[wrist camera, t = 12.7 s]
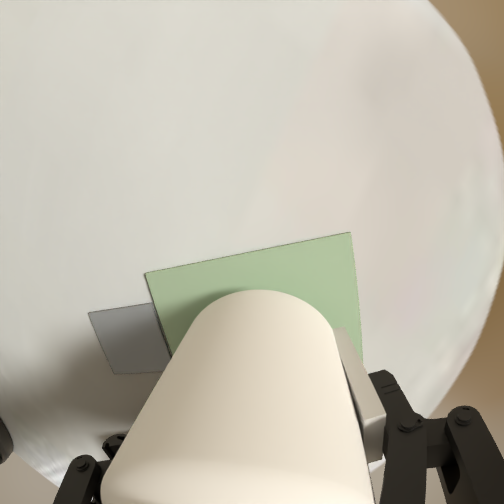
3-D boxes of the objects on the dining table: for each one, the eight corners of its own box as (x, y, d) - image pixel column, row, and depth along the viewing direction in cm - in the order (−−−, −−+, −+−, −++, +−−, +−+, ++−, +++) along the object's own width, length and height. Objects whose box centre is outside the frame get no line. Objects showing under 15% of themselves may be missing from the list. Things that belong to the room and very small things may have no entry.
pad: (201, 421, 19) (201, 423, 19) (146, 272, 16) (145, 273, 16) (363, 395, 18) (364, 397, 18) (349, 231, 15) (350, 232, 15)
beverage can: (364, 356, 16) (427, 554, 4) (257, 425, 18) (232, 596, 6) (266, 250, 15) (214, 474, 3) (161, 343, 17) (48, 512, 5)
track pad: (115, 372, 18) (114, 374, 18) (89, 312, 17) (88, 313, 17) (175, 368, 18) (174, 370, 18) (151, 302, 17) (150, 304, 17)
